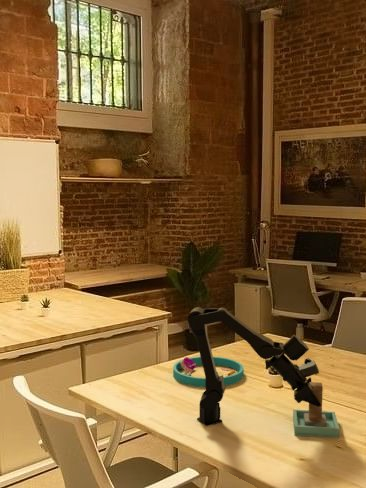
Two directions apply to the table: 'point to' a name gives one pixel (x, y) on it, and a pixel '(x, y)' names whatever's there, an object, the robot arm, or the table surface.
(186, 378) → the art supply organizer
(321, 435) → the tray
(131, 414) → the table surface
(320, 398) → the handle post
